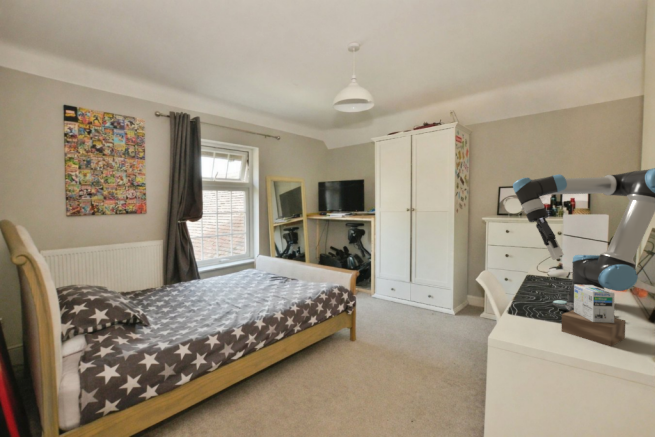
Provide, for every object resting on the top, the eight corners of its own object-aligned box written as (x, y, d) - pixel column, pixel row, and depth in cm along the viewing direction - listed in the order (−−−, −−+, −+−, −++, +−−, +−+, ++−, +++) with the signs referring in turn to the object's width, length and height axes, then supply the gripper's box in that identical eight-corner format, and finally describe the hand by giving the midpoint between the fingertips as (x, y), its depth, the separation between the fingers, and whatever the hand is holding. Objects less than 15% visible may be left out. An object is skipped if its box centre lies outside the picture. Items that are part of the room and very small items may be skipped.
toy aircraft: (556, 304, 142) (556, 293, 142) (614, 315, 127) (615, 303, 127) (547, 313, 131) (548, 301, 131) (610, 326, 116) (610, 312, 116)
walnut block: (576, 326, 117) (577, 308, 117) (624, 339, 105) (625, 320, 105) (561, 332, 112) (561, 314, 111) (610, 348, 99) (610, 327, 99)
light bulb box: (615, 323, 102) (615, 292, 102) (593, 322, 103) (593, 291, 103) (592, 312, 113) (593, 284, 112) (572, 311, 114) (573, 284, 113)
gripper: (525, 219, 143) (545, 262, 135) (525, 207, 122) (549, 257, 115) (543, 214, 140) (565, 257, 132) (546, 200, 119) (573, 251, 112)
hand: (558, 257), depth 123 cm, fingers open, 13 cm apart
